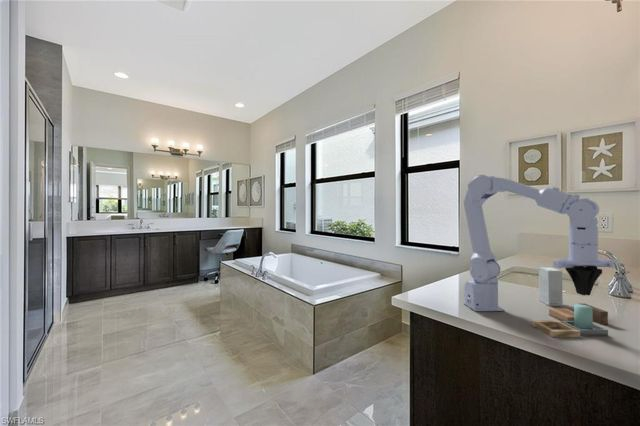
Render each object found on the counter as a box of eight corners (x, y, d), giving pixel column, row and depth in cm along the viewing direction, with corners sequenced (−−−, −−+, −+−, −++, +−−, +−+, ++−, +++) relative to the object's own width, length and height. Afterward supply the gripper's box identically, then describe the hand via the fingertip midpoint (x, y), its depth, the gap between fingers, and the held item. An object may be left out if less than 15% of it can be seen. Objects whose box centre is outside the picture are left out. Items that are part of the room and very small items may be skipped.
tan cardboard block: (567, 325, 79) (567, 317, 79) (548, 316, 86) (548, 308, 86) (586, 326, 79) (586, 317, 79) (566, 316, 86) (566, 308, 86)
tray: (580, 336, 72) (580, 330, 72) (560, 326, 78) (560, 321, 78) (608, 335, 72) (608, 330, 72) (586, 326, 78) (586, 320, 78)
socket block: (552, 337, 72) (552, 331, 72) (532, 325, 79) (532, 320, 79) (580, 337, 72) (580, 331, 72) (557, 325, 79) (557, 320, 79)
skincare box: (563, 306, 93) (563, 271, 93) (548, 306, 94) (548, 270, 94) (552, 300, 99) (551, 267, 99) (538, 300, 100) (538, 266, 100)
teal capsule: (582, 331, 73) (582, 309, 73) (570, 326, 77) (570, 304, 77) (596, 331, 73) (596, 308, 73) (584, 325, 77) (583, 304, 77)
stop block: (600, 324, 79) (600, 312, 79) (578, 314, 86) (578, 303, 86) (607, 324, 79) (607, 311, 79) (584, 314, 86) (584, 303, 86)
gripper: (568, 246, 71) (569, 299, 71) (626, 245, 71) (626, 298, 71) (546, 242, 78) (546, 291, 78) (599, 241, 78) (599, 290, 78)
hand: (583, 294), depth 75 cm, fingers closed
